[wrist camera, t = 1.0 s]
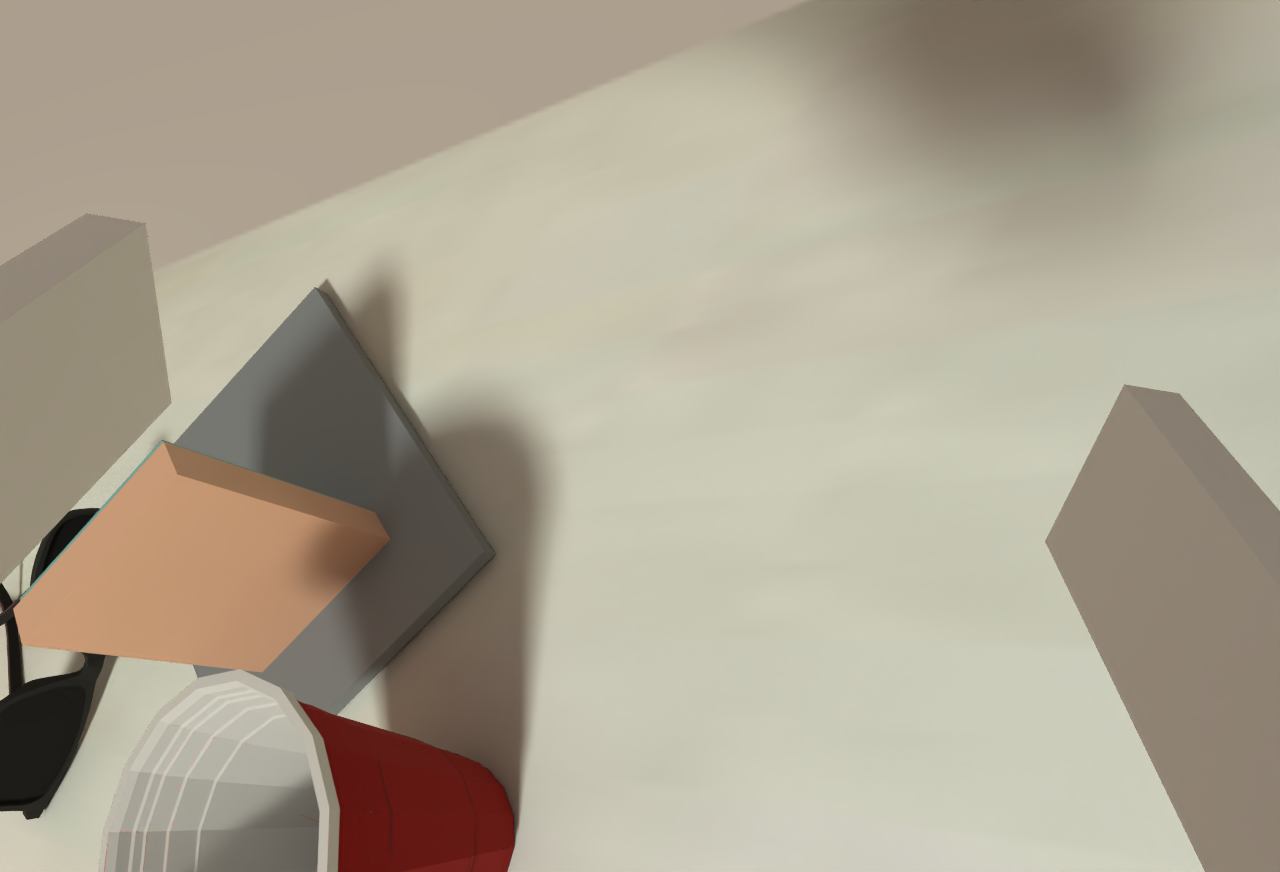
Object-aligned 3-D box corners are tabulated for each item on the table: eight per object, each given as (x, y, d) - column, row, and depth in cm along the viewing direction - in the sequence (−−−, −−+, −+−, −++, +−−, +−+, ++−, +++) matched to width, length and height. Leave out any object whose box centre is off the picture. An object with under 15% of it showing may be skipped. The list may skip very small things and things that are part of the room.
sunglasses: (47, 463, 58) (-43, 443, 54) (168, 514, 50) (73, 495, 46) (-54, 730, 56) (-155, 730, 52) (55, 828, 48) (-55, 837, 44)
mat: (326, 293, 51) (315, 286, 50) (495, 554, 40) (484, 550, 39) (142, 496, 53) (129, 493, 52) (256, 795, 42) (241, 796, 42)
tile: (371, 506, 43) (160, 434, 34) (390, 539, 42) (177, 474, 33) (247, 636, 45) (11, 601, 35) (262, 672, 43) (22, 645, 34)
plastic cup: (336, 740, 41) (73, 729, 31) (536, 658, 38) (311, 617, 28) (363, 1020, 36) (62, 1114, 26) (596, 957, 33) (350, 1038, 23)
